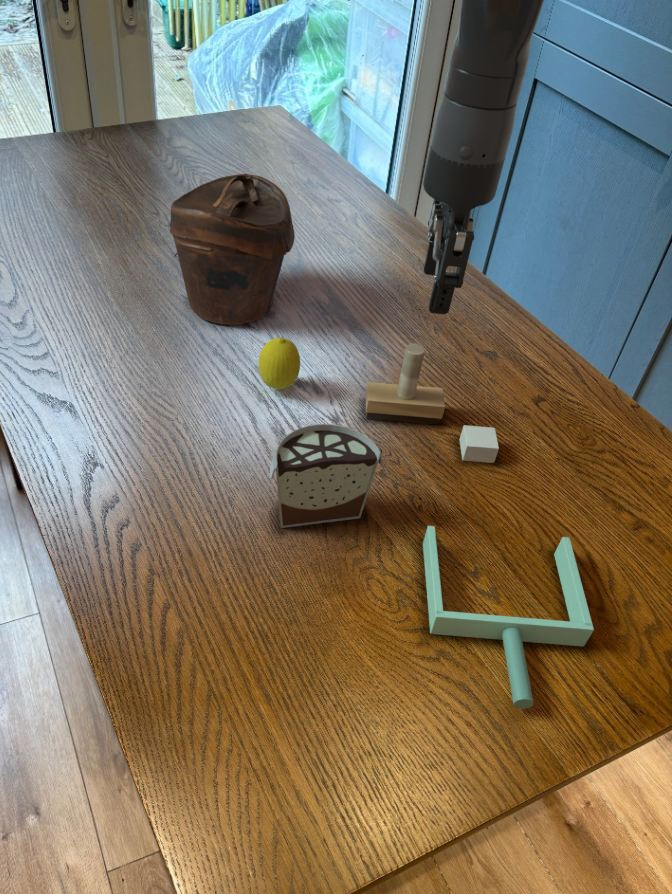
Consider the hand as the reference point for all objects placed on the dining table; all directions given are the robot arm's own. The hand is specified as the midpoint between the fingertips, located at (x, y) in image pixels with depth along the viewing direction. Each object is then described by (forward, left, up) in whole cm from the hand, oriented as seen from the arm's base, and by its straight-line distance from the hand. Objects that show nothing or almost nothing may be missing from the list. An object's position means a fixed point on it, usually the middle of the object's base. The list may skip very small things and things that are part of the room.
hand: (434, 292), depth 86 cm
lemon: (+17, -7, -19) cm, 26 cm away
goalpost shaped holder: (-3, +34, -18) cm, 38 cm away
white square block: (-7, +7, -18) cm, 21 cm away
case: (+22, -29, -19) cm, 40 cm away
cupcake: (+15, +15, -19) cm, 28 cm away
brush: (+1, -1, -18) cm, 18 cm away
